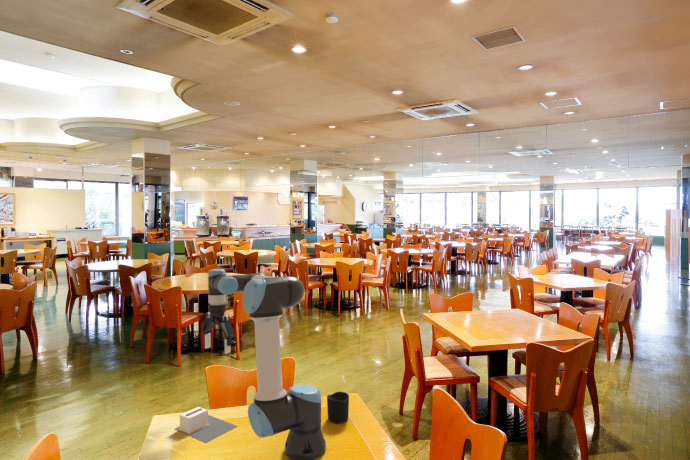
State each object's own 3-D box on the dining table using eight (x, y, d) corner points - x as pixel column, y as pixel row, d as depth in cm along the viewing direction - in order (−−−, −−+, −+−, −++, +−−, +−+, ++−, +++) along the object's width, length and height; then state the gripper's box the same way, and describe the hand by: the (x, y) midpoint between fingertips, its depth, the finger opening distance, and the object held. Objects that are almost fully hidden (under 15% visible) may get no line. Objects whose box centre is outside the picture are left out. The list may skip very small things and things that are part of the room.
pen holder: (349, 424, 176) (348, 400, 175) (326, 424, 176) (326, 400, 176) (349, 414, 185) (348, 391, 185) (327, 414, 185) (327, 391, 185)
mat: (238, 427, 173) (238, 425, 173) (205, 444, 160) (205, 442, 160) (206, 415, 184) (206, 413, 184) (174, 430, 171) (174, 428, 171)
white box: (189, 433, 167) (189, 418, 167) (180, 429, 170) (179, 414, 170) (208, 424, 174) (207, 409, 174) (198, 420, 178) (198, 406, 178)
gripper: (242, 305, 186) (243, 352, 186) (206, 299, 200) (206, 344, 200) (229, 307, 180) (229, 357, 180) (192, 302, 194) (193, 347, 194)
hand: (217, 350), depth 190 cm, fingers open, 13 cm apart
